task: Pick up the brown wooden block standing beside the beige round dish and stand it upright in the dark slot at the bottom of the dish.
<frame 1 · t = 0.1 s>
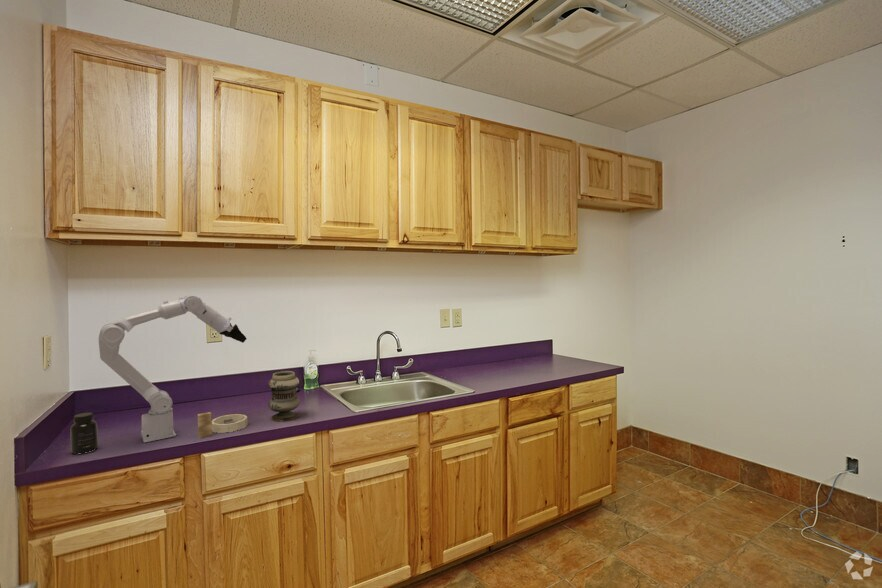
hand: (242, 339, 168), 32 cm above the counter, tool tilted 50°, fingers open, 7 cm apart
beige round dish: (229, 427, 161), on the counter
brown wooden block: (205, 435, 152), on the counter
supplement bottle: (84, 451, 139), on the counter
apothecary jar: (284, 417, 172), on the counter
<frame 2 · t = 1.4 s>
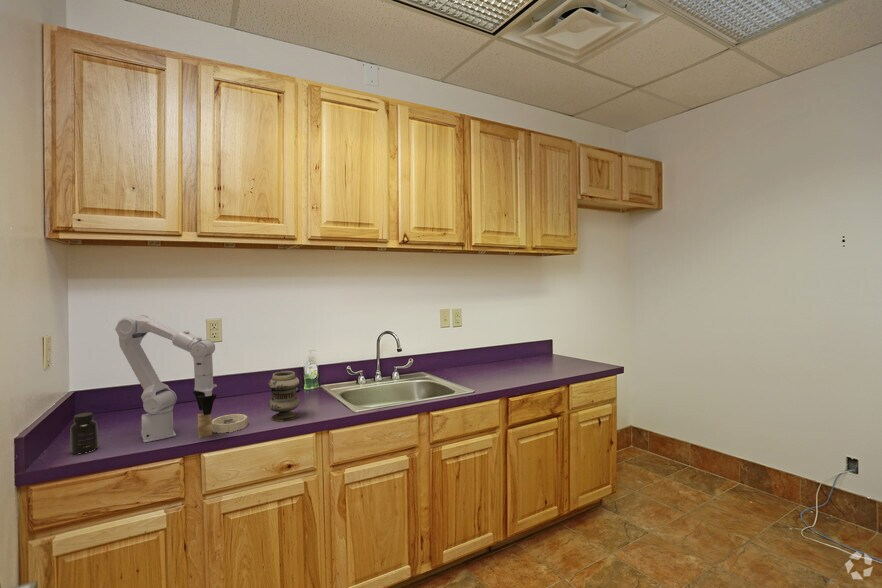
hand: (205, 412, 152), 9 cm above the counter, tool pointing down, fingers open, 7 cm apart
nothing on the counter moved.
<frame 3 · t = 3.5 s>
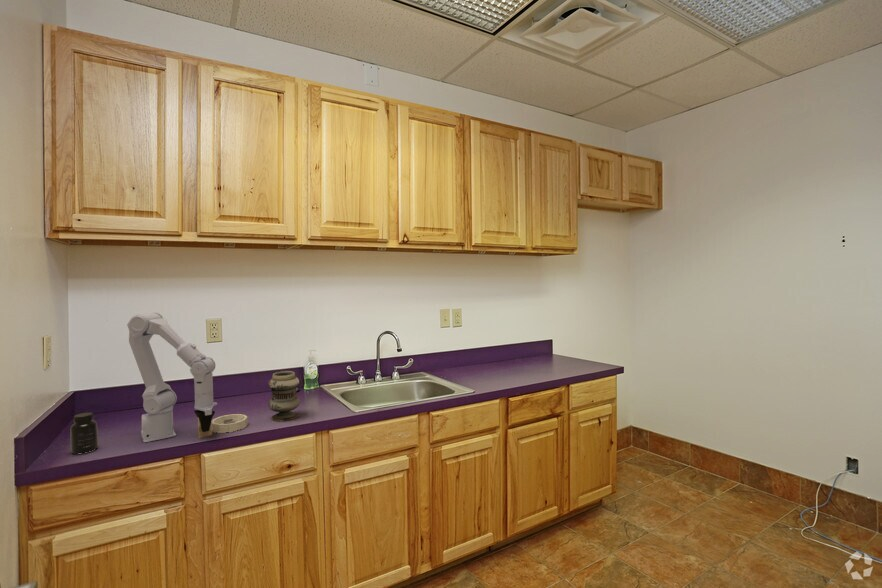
hand: (204, 430, 152), 2 cm above the counter, tool pointing down, fingers closed on brown wooden block, 2 cm apart
brown wooden block: (205, 435, 152), on the counter, touching gripper
everything else where it was.
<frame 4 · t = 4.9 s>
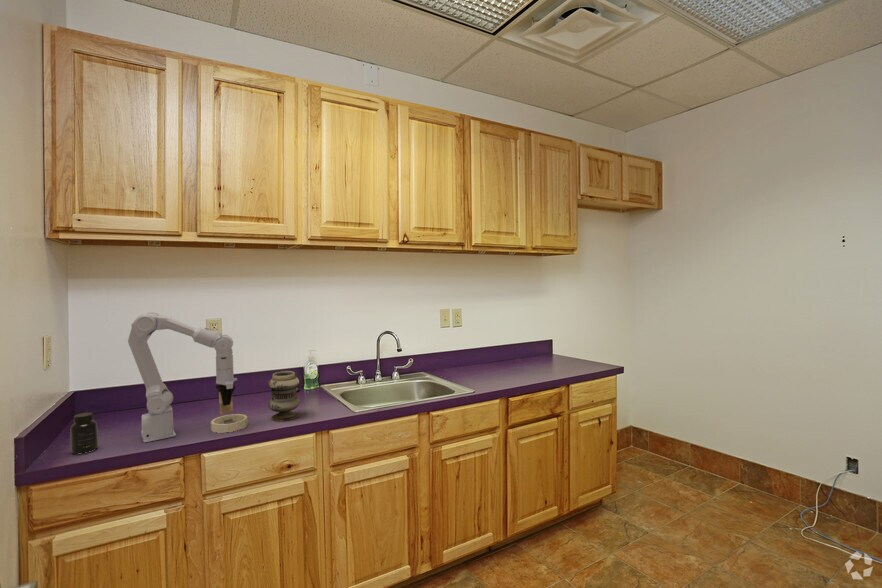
hand: (225, 404, 159), 9 cm above the counter, tool pointing down, fingers closed on brown wooden block
brown wooden block: (226, 412, 159), point 6 cm above the counter, touching gripper
everything else where it was.
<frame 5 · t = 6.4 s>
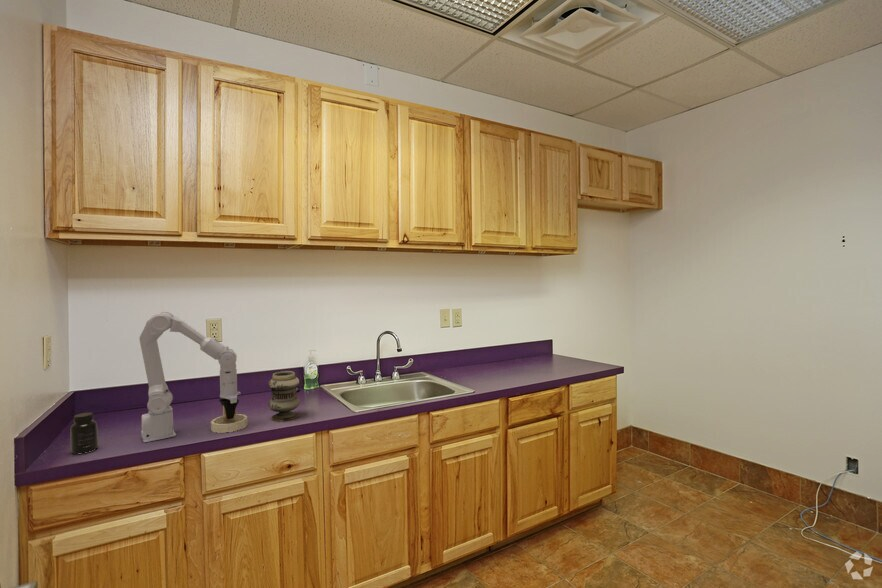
hand: (229, 417, 160), 4 cm above the counter, tool pointing down, fingers closed on brown wooden block, 2 cm apart
brown wooden block: (229, 425, 161), resting on beige round dish, touching gripper
everything else where it was.
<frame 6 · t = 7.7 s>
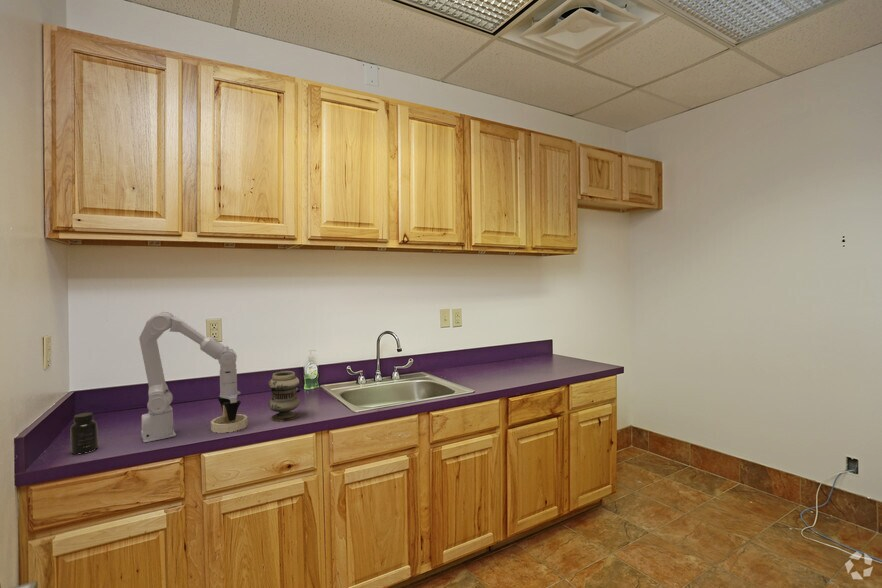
hand: (229, 417, 160), 4 cm above the counter, tool pointing down, fingers open, 7 cm apart
brown wooden block: (229, 425, 161), resting on beige round dish
everything else where it was.
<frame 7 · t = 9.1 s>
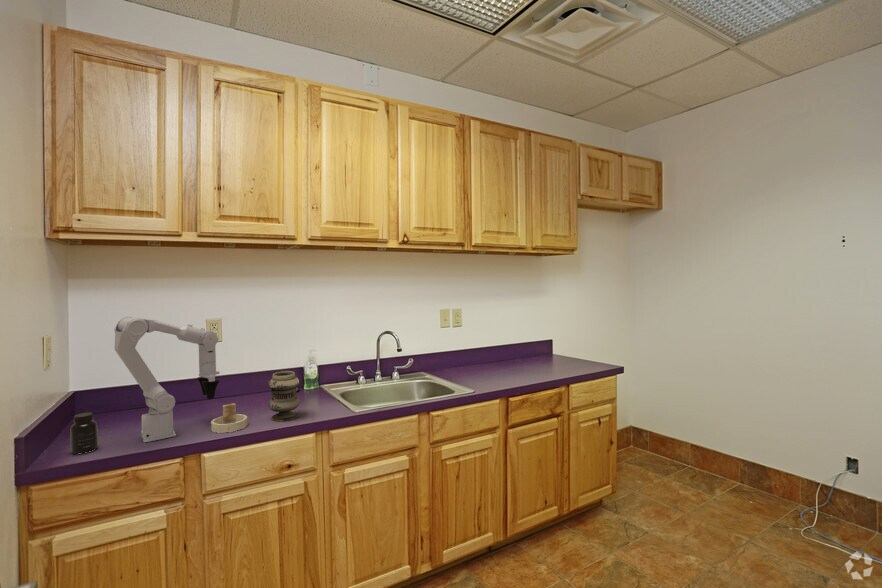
hand: (208, 396, 165), 10 cm above the counter, tool pointing down, fingers open, 7 cm apart
nothing on the counter moved.
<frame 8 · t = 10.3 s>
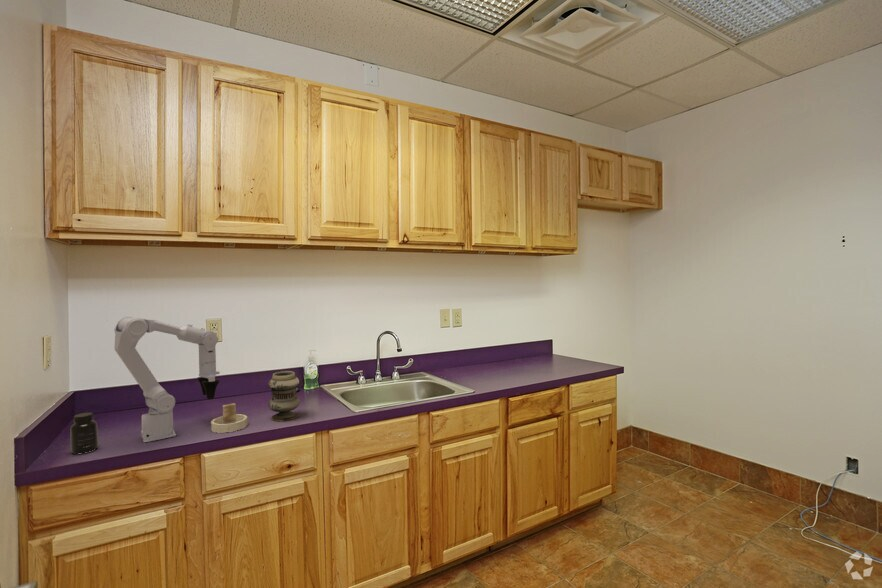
hand: (208, 396, 165), 10 cm above the counter, tool pointing down, fingers open, 7 cm apart
nothing on the counter moved.
at the end: brown wooden block 0.1 cm off-centre on the beige round dish, point 0.5 cm above the beige round dish's base; brown wooden block tilted 0°; the gripper is holding nothing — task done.
